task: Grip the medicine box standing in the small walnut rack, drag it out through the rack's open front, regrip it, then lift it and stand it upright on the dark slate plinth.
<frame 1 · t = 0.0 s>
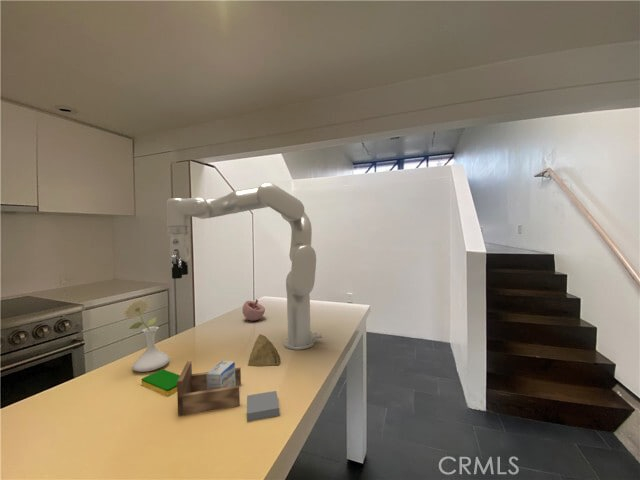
hand: (180, 276, 104), 31 cm above the kitchen island, tool pointing down, fingers open, 9 cm apart
red apple: (254, 320, 150), on the kitchen island
flower in vase: (148, 368, 97), on the kitchen island
plinth: (262, 408, 73), on the kitchen island
rack: (222, 396, 79), on the kitchen island
medicine box: (222, 397, 79), on the kitchen island
rock: (265, 364, 98), on the kitchen island
dish sponge: (165, 386, 86), on the kitchen island
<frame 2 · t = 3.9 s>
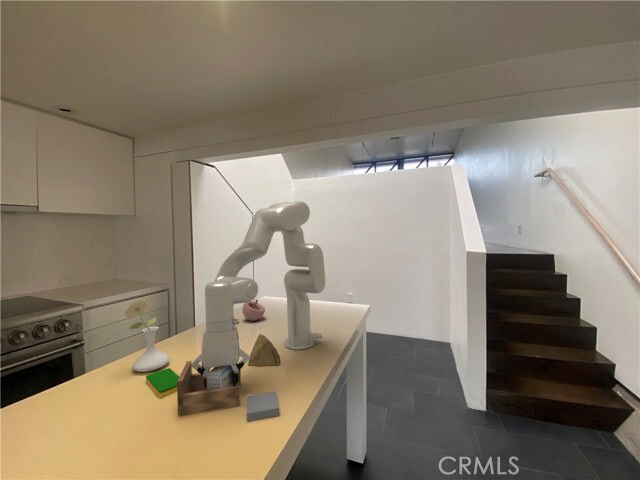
hand: (221, 386, 79), 3 cm above the kitchen island, tool pointing down, fingers closed on medicine box, 6 cm apart
medicine box: (222, 397, 79), on the kitchen island, touching gripper
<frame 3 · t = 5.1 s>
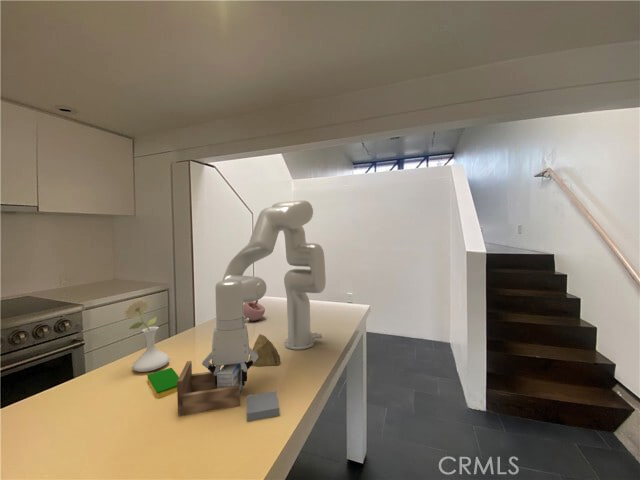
hand: (231, 384, 79), 3 cm above the kitchen island, tool pointing down, fingers open, 6 cm apart
medicine box: (230, 396, 79), on the kitchen island, touching gripper
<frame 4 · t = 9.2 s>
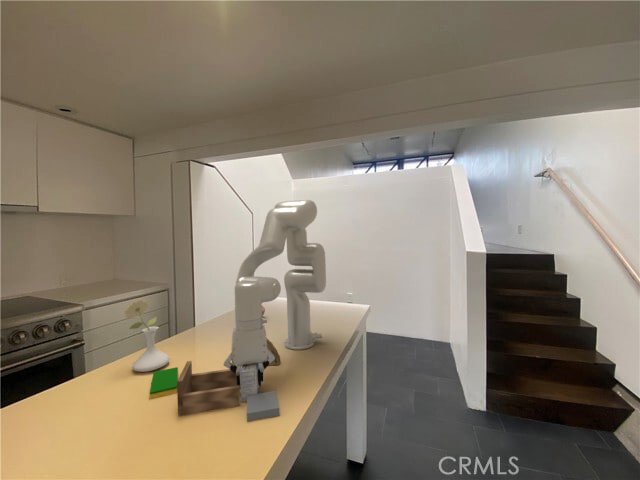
hand: (250, 384, 81), 2 cm above the kitchen island, tool pointing down, fingers closed on medicine box, 4 cm apart
medicine box: (250, 394, 80), on the kitchen island, touching gripper
when the fingers open (5 cm above the kitchen island, at t = 14.4 s): medicine box stays where it is, resting on plinth.
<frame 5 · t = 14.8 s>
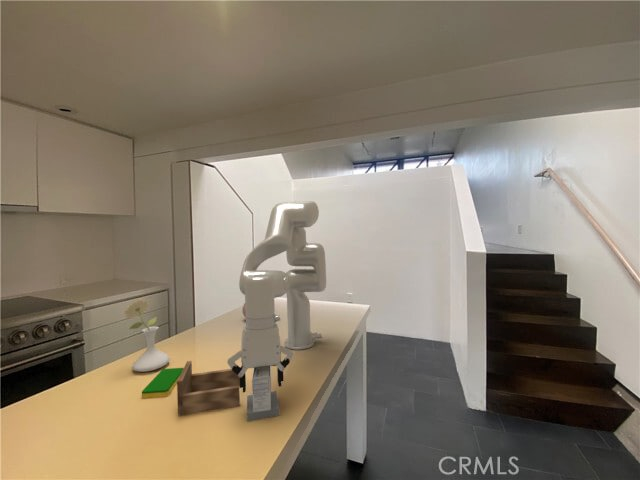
hand: (262, 386, 73), 6 cm above the kitchen island, tool pointing down, fingers open, 8 cm apart
medicine box: (262, 403, 72), point 2 cm above the kitchen island, touching plinth
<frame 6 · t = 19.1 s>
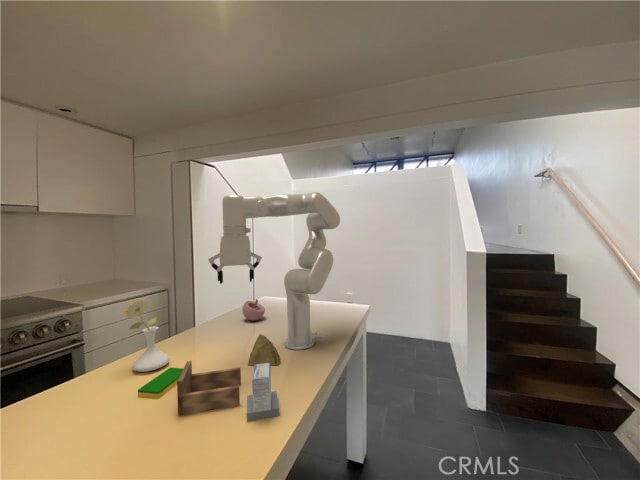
hand: (236, 282, 94), 30 cm above the kitchen island, tool pointing down, fingers open, 9 cm apart
at the end: medicine box inside the target area on the plinth (0.5 cm from its centre), point 1.8 cm above the plinth's base; medicine box tilted 0°; the gripper is holding nothing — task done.
